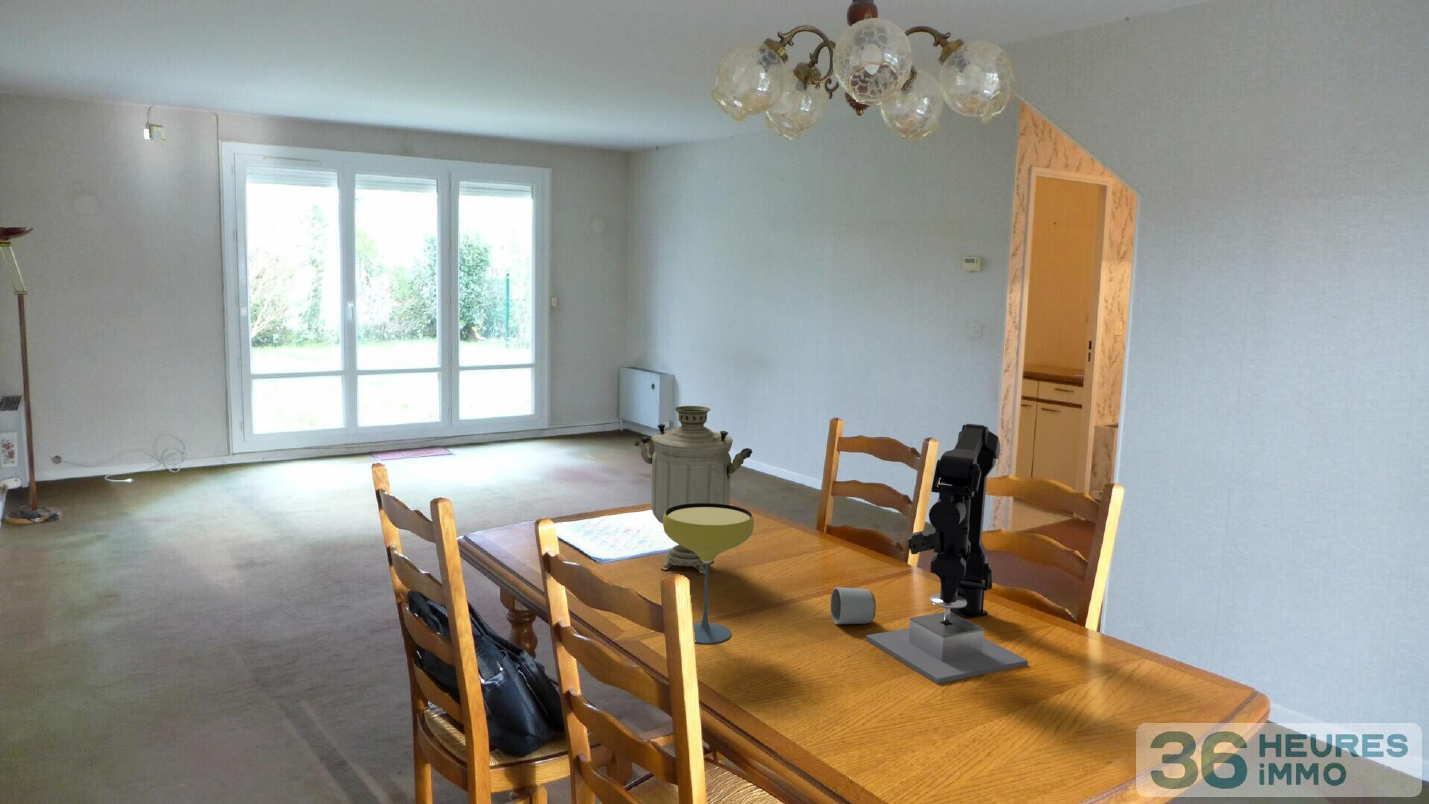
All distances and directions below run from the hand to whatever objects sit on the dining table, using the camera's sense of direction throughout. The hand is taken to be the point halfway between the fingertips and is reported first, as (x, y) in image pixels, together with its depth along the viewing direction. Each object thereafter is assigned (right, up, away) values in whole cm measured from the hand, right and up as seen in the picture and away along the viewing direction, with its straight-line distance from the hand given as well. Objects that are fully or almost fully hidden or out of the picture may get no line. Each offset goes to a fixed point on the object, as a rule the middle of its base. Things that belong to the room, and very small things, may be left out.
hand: (948, 597), depth 180 cm
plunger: (0, -6, +1) cm, 6 cm away
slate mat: (0, -11, +1) cm, 11 cm away
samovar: (-51, -3, +53) cm, 73 cm away
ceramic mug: (-17, -9, +17) cm, 26 cm away
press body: (0, -11, +1) cm, 11 cm away
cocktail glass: (-48, -9, +7) cm, 49 cm away
